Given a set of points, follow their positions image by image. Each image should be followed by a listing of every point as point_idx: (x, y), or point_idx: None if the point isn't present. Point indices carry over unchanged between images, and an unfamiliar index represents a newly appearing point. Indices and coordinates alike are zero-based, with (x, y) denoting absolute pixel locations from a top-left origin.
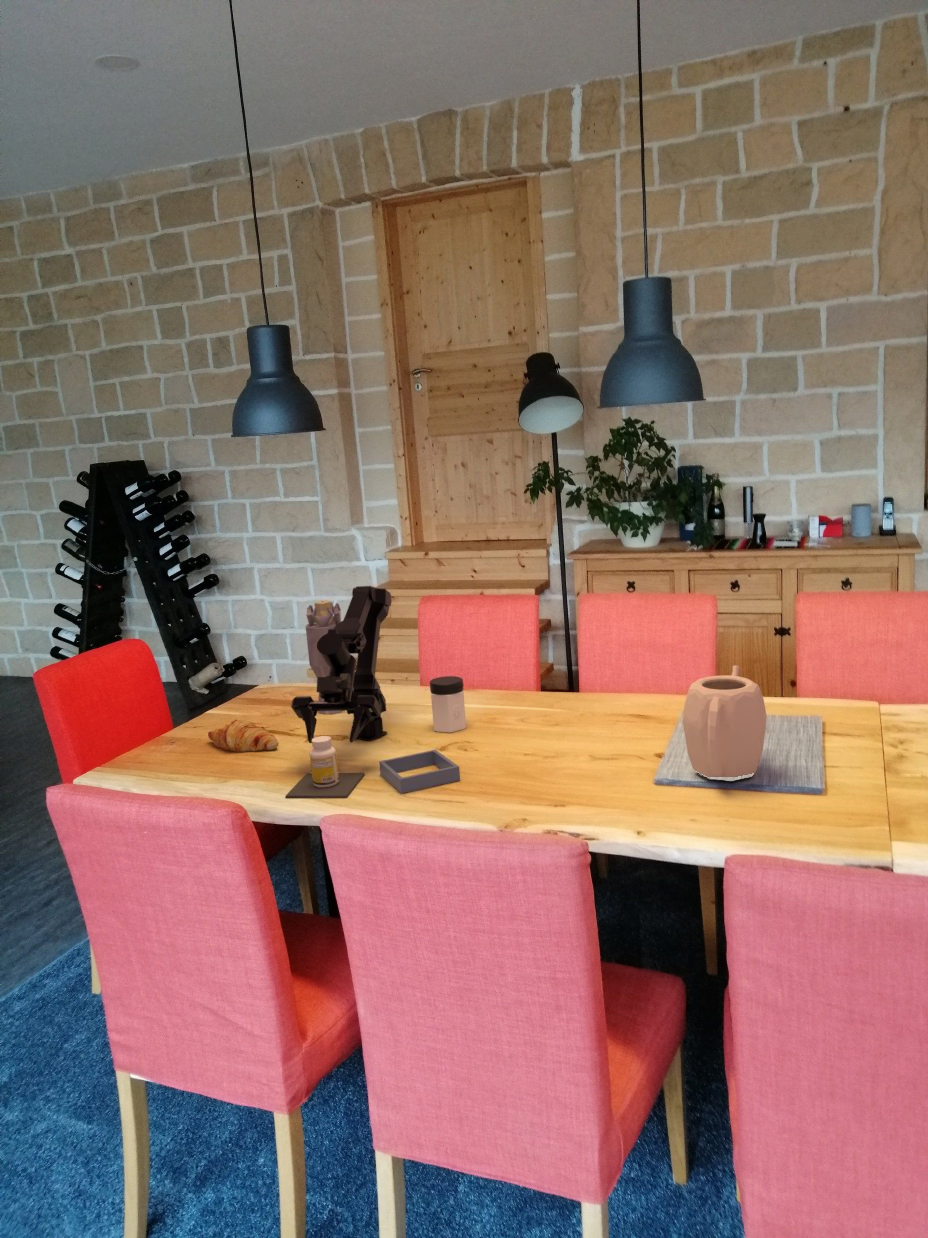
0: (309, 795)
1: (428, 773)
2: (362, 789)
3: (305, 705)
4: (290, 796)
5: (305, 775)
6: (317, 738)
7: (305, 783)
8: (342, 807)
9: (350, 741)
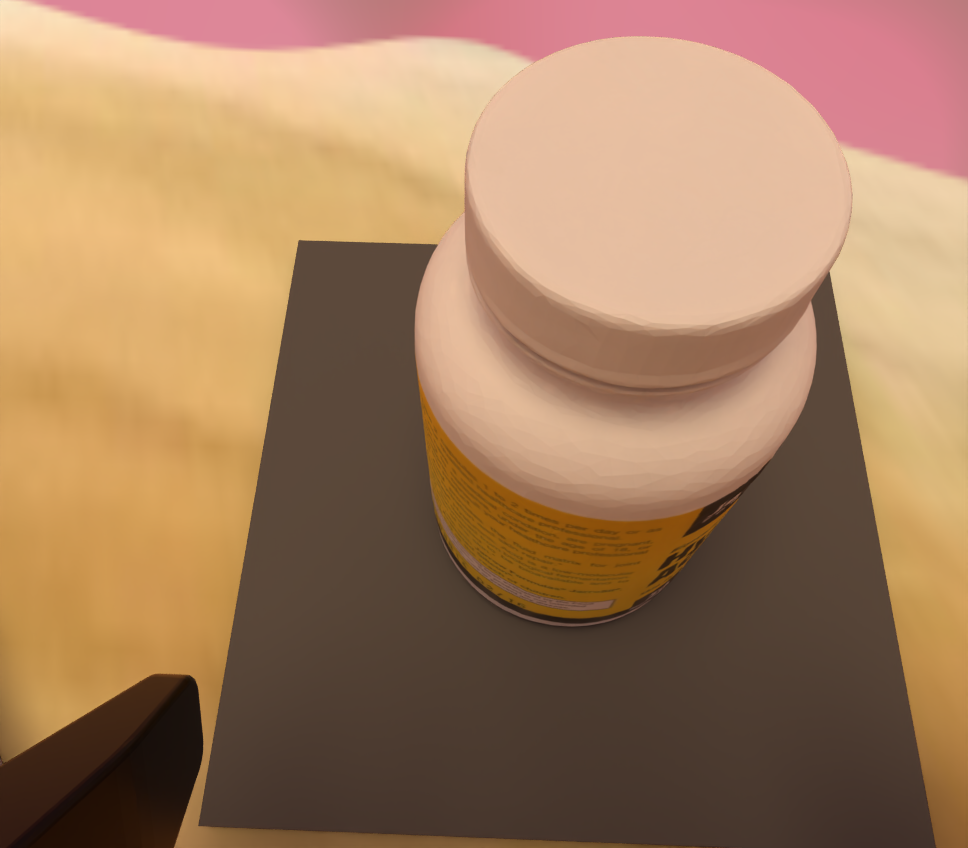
0: None
1: None
2: (194, 420)
3: None
4: None
5: (909, 761)
6: (754, 194)
7: (783, 512)
8: (307, 119)
9: (186, 681)
